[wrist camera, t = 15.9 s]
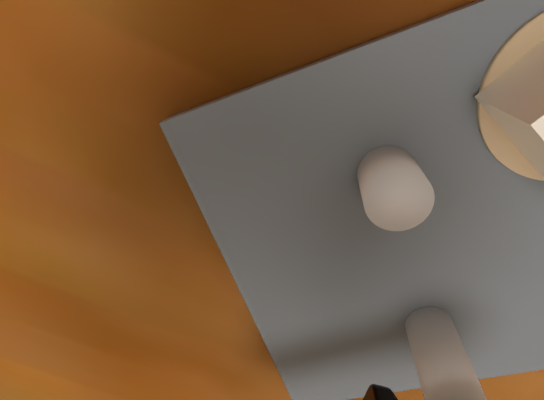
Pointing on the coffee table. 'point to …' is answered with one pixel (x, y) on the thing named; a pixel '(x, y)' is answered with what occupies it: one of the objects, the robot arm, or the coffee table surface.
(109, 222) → the coffee table surface
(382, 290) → the board
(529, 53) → the beige cube
